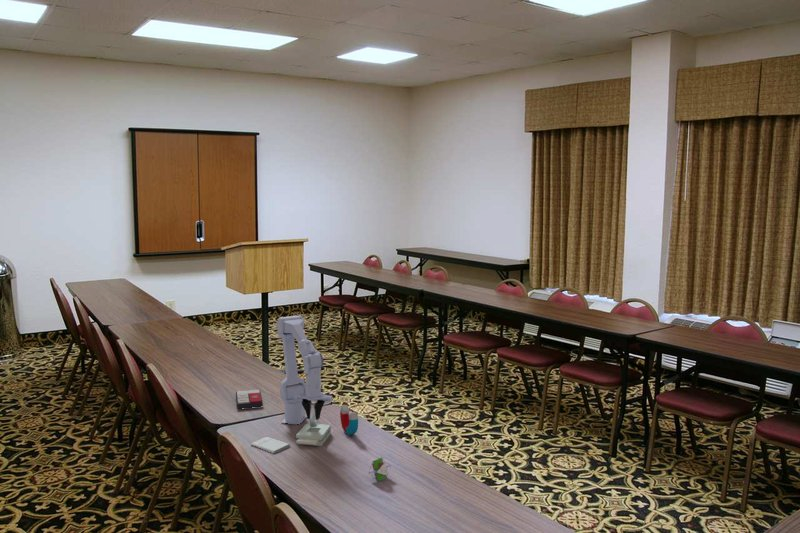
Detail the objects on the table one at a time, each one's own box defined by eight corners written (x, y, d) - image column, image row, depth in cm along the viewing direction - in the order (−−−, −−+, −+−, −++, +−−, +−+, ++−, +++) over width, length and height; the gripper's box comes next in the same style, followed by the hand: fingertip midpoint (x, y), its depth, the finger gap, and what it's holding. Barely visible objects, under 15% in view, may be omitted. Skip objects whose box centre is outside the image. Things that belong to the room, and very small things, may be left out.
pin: (311, 423, 243) (310, 401, 241) (318, 424, 242) (318, 402, 241) (308, 426, 240) (308, 404, 239) (316, 427, 239) (315, 404, 238)
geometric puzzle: (361, 470, 211) (371, 456, 207) (376, 463, 216) (386, 450, 211) (373, 488, 207) (383, 474, 203) (388, 481, 212) (398, 468, 208)
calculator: (236, 402, 271) (235, 390, 285) (237, 412, 272) (235, 399, 286) (262, 400, 274) (260, 388, 289) (262, 409, 275) (260, 397, 289)
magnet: (358, 437, 243) (358, 413, 242) (352, 439, 242) (352, 414, 240) (346, 427, 253) (346, 403, 252) (340, 428, 252) (339, 405, 251)
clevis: (306, 431, 248) (306, 423, 248) (330, 433, 247) (330, 425, 246) (294, 446, 235) (294, 436, 234) (319, 448, 233) (319, 439, 233)
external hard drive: (273, 455, 228) (250, 446, 235) (290, 447, 235) (267, 439, 242) (273, 451, 228) (250, 442, 235) (290, 443, 234) (267, 435, 242)
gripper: (291, 386, 236) (292, 420, 238) (328, 388, 234) (328, 423, 235) (297, 380, 243) (298, 414, 245) (333, 383, 241) (333, 416, 242)
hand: (313, 418), depth 241 cm, fingers closed on pin, 3 cm apart
